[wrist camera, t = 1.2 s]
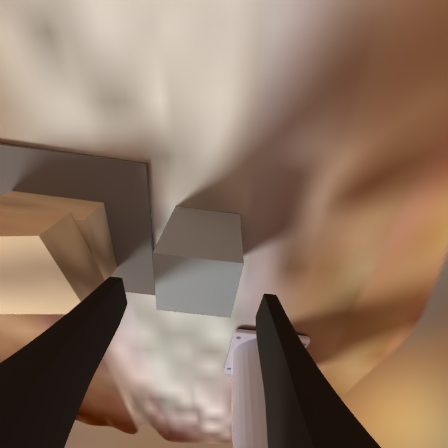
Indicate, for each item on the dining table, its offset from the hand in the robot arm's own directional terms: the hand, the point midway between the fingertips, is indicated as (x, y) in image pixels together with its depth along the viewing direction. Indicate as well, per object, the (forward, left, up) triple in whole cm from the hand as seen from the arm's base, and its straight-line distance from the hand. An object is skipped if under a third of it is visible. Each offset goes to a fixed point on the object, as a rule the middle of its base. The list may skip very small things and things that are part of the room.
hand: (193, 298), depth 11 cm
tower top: (-1, +10, -3) cm, 10 cm away
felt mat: (-1, +10, -6) cm, 11 cm away
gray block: (0, 0, -6) cm, 6 cm away
